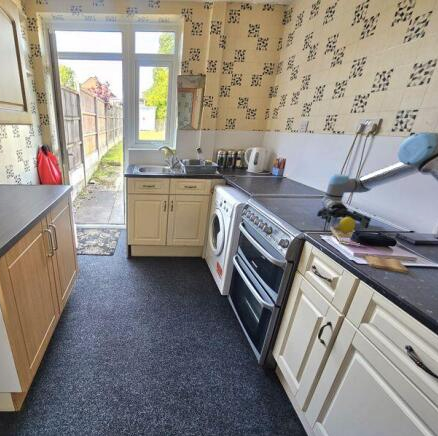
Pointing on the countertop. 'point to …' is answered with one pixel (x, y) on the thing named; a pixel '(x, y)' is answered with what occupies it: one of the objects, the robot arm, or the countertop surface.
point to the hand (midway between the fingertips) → (348, 222)
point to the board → (386, 264)
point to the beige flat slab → (342, 234)
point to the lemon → (346, 224)
